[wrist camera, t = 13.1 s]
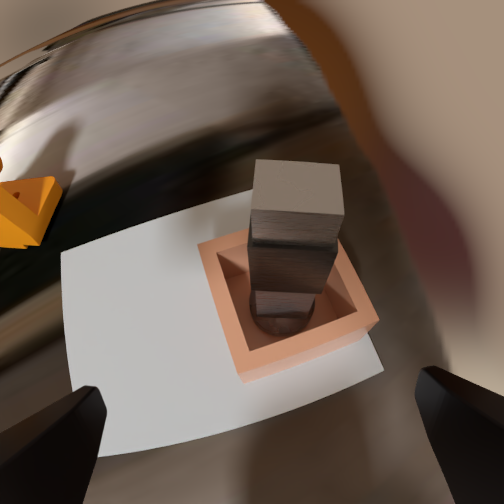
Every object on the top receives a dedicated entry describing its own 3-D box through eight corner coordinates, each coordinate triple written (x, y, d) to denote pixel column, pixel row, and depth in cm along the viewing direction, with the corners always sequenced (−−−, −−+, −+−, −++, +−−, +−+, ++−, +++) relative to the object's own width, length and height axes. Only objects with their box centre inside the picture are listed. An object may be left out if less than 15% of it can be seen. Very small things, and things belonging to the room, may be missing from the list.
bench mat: (382, 371, 20) (384, 370, 20) (90, 457, 18) (87, 458, 17) (289, 182, 29) (289, 179, 29) (63, 254, 27) (61, 252, 26)
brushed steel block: (312, 338, 21) (364, 240, 10) (247, 334, 21) (229, 233, 11) (313, 279, 23) (351, 148, 12) (252, 275, 24) (243, 141, 13)
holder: (359, 339, 21) (379, 319, 17) (243, 383, 20) (237, 374, 16) (313, 241, 25) (320, 206, 22) (208, 275, 24) (196, 244, 21)
